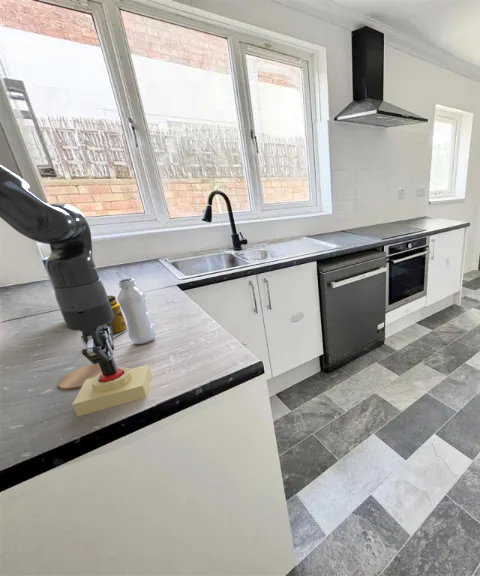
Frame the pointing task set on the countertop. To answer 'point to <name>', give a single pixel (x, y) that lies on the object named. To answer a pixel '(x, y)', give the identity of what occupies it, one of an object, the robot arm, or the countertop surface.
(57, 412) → the countertop surface
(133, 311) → the plastic bottle
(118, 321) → the condiment
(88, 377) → the coaster
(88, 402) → the button base
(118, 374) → the red button cap
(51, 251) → the robot arm
